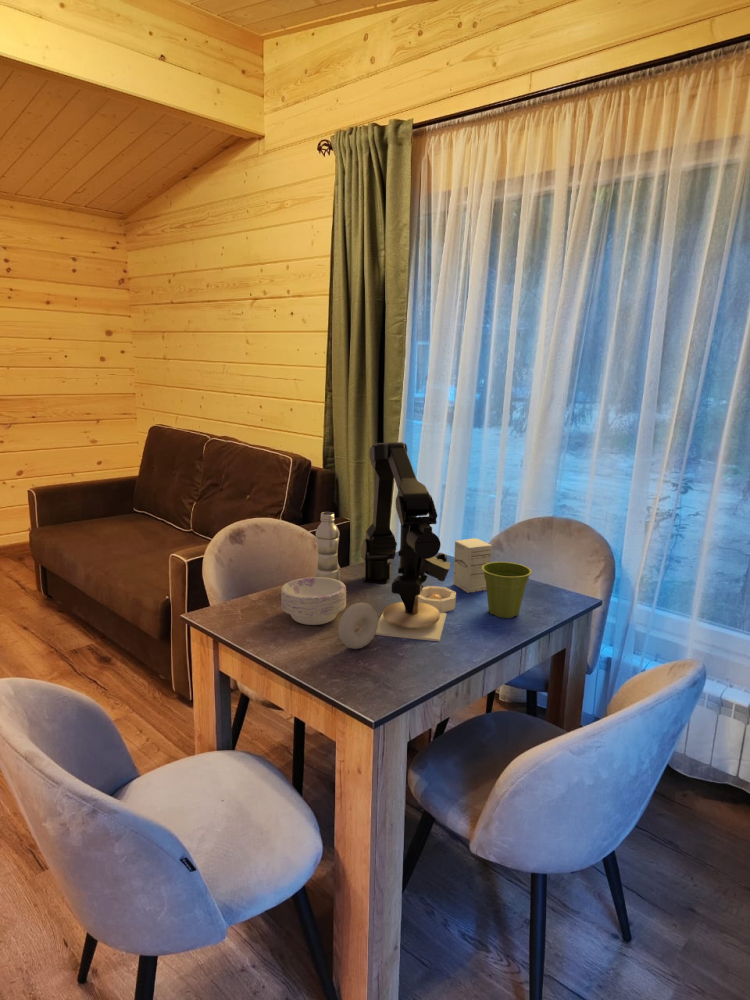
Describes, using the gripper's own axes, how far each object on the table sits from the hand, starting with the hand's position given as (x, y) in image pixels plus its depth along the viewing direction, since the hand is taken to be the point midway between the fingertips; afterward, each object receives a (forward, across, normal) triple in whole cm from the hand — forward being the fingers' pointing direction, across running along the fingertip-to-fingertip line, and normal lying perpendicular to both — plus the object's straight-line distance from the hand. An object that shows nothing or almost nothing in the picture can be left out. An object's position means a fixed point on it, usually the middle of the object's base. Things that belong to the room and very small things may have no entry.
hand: (411, 610), depth 147 cm
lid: (+2, 0, 0) cm, 2 cm away
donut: (+4, -15, +9) cm, 18 cm away
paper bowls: (+4, -2, +23) cm, 23 cm away
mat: (+4, 0, 0) cm, 4 cm away
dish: (+4, +13, -4) cm, 14 cm away
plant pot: (+4, +12, -21) cm, 25 cm away
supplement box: (+4, +28, -12) cm, 31 cm away
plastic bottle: (+4, +20, +26) cm, 33 cm away
